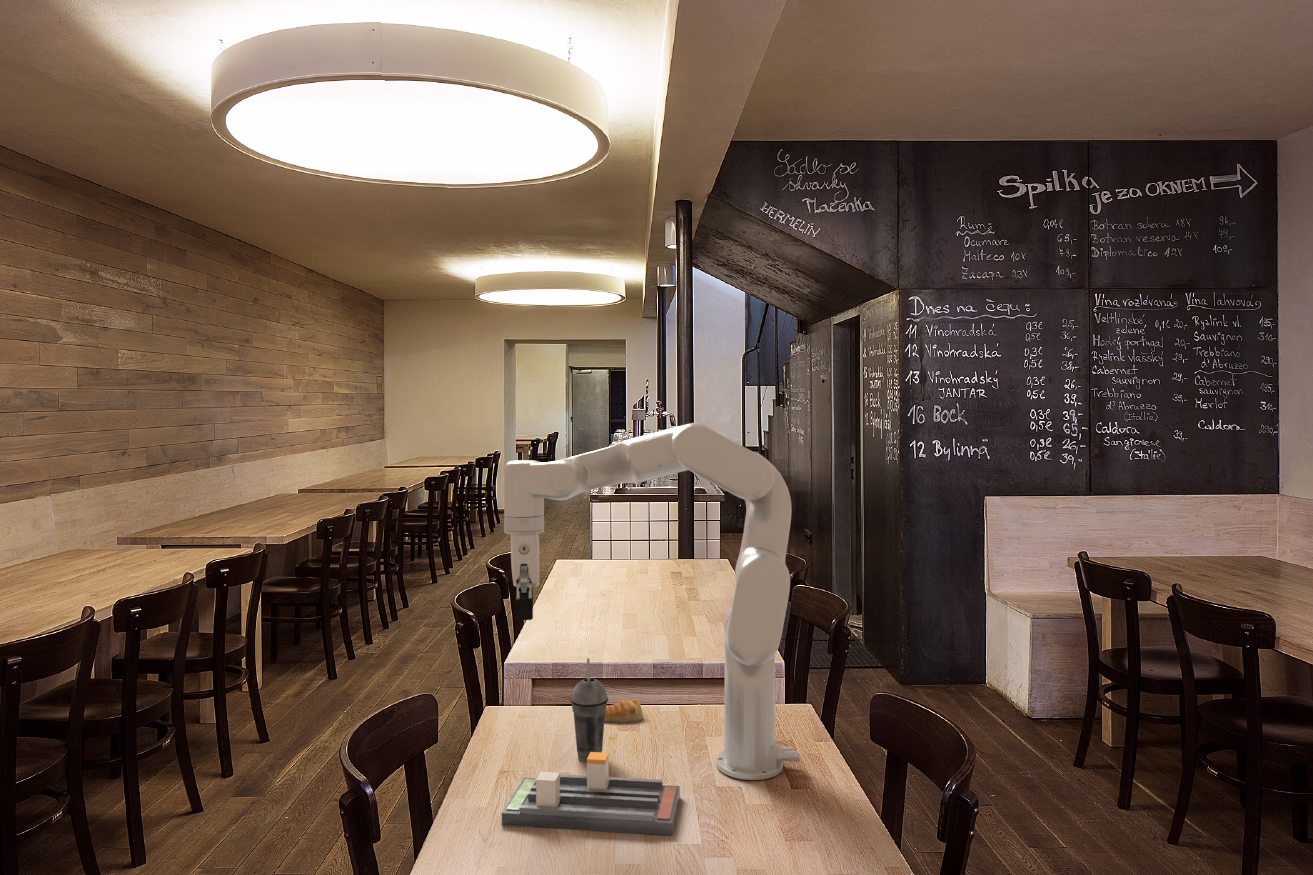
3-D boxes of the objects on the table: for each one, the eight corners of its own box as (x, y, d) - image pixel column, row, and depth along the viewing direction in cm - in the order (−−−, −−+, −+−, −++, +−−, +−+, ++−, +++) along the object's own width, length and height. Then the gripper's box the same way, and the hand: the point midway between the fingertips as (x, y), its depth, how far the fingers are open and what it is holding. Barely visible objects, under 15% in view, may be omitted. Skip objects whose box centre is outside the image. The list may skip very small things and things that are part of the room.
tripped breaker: (608, 785, 141) (608, 752, 141) (605, 793, 138) (605, 759, 138) (590, 784, 142) (590, 751, 141) (587, 792, 139) (586, 758, 138)
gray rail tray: (679, 797, 141) (679, 780, 141) (672, 835, 128) (672, 816, 128) (524, 788, 145) (524, 771, 145) (501, 824, 132) (501, 806, 132)
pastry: (603, 726, 174) (603, 709, 174) (596, 716, 180) (595, 699, 180) (645, 721, 177) (645, 704, 177) (636, 710, 183) (635, 694, 183)
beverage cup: (611, 751, 161) (610, 651, 160) (605, 767, 153) (604, 662, 153) (575, 749, 161) (574, 650, 161) (567, 765, 154) (567, 661, 154)
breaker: (559, 802, 135) (559, 772, 135) (555, 810, 132) (555, 780, 132) (541, 800, 135) (541, 771, 135) (536, 809, 133) (536, 779, 132)
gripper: (544, 530, 147) (544, 624, 147) (543, 518, 164) (543, 602, 164) (502, 531, 145) (503, 625, 146) (505, 519, 163) (505, 603, 163)
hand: (524, 613), depth 155 cm, fingers open, 9 cm apart
